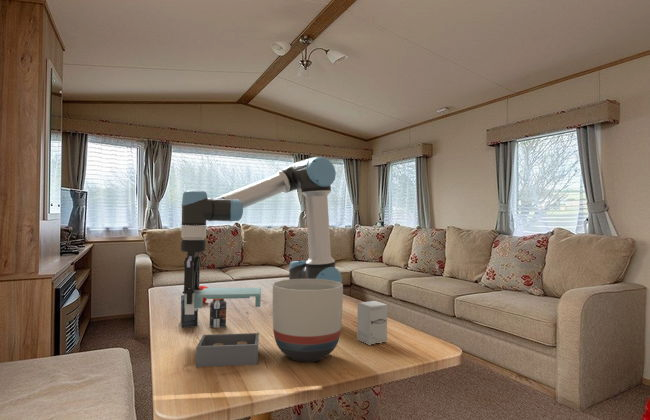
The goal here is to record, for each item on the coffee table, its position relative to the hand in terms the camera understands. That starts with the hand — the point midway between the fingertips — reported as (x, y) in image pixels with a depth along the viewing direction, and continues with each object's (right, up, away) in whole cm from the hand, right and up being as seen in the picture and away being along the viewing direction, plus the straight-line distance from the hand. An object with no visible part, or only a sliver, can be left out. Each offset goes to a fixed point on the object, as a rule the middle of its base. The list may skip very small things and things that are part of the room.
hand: (191, 312), depth 120 cm
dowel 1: (+13, -9, -16) cm, 22 cm away
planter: (+37, -11, -11) cm, 40 cm away
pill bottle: (+2, -11, +21) cm, 24 cm away
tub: (+16, -10, -14) cm, 23 cm away
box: (-9, -11, +23) cm, 27 cm away
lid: (+10, +2, +2) cm, 10 cm away
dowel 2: (+19, -9, -14) cm, 25 cm away
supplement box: (+58, -11, +5) cm, 60 cm away
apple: (-17, -12, +60) cm, 63 cm away
